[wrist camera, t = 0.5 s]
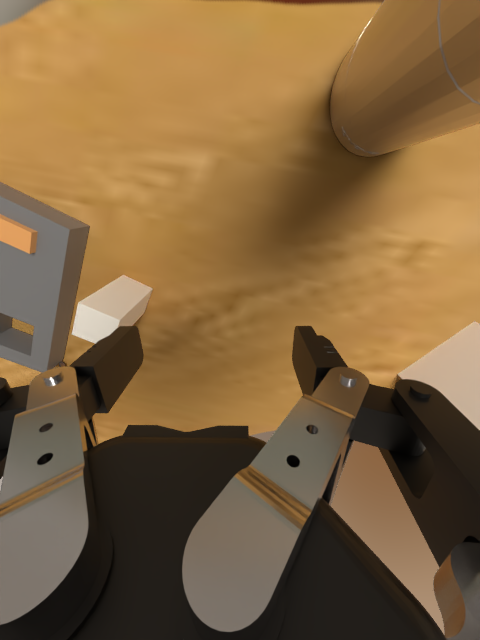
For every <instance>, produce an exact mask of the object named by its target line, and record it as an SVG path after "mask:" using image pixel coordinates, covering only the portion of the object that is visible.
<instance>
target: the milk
mask: <svg viewBox="0 0 480 640" xmlns="http://www.w3.org/2000/svg"><path fill="white" fill-rule="evenodd" d="M398 375H399V376H400V377H401V379H412V380H417V381H420V382H423V383H426V384H428V385H430V386H432V387H434V388H436V389H437V390H438V391H440V392H441V393H442V394H443V395H444V396H445V397H446V398H447V399H448V400H449V401H450V402H451V403H452V404H453V405H454V406H455V407H456V408H457V409H458V410H459V411H460V412H461V413H462V414H463V415H464V416H465V417H466V418H467V419H468V420H469V421H470V422H472V423H473V424H474V425H475V426H476V427H477V428H478V429H479V430H480V324H479V323H477V322H475V321H474V322H472V323H471V324H470V325H468V326H467V327H465V328H464V329H462V330H461V331H459V332H458V333H457V334H455V335H454V336H452V337H451V338H449V339H448V340H446V341H445V342H443V343H442V344H441V345H439V346H438V347H436V348H435V349H433V350H432V351H430V352H429V353H427V354H426V355H425V356H423V357H422V358H420V359H419V360H417V361H416V362H414V363H413V364H411V365H410V366H409V367H407V368H406V369H404V370H403V371H401V372H400V373H398Z"/></svg>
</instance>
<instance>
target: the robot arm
mask: <svg viewBox="0 0 480 640" xmlns="http://www.w3.org/2000/svg"><path fill="white" fill-rule="evenodd" d="M330 116H331V122H332V127H333V129H334V132H335V135H336V137H337V138H338V140H339V141H340V143H341V144H342V145H343V146H344V147H345V148H346V149H347V150H348V151H350V152H352V153H354V154H356V155H359V156H364V157H373V156H379V155H382V154H385V153H389V152H392V151H395V150H398V149H401V148H405V147H408V146H411V145H414V144H417V143H421V142H424V141H427V140H430V139H433V138H436V137H439V136H442V135H445V134H448V133H452V132H455V131H458V130H461V129H464V128H467V127H470V126H473V125H476V124H479V123H480V0H384V2H383V3H382V5H381V6H380V7H379V9H378V10H377V12H376V13H375V15H374V16H373V18H372V19H371V20H370V22H369V23H368V25H367V26H366V27H365V29H364V30H363V32H362V33H361V35H360V36H359V38H358V39H357V41H356V42H355V43H354V45H353V46H352V48H351V49H350V51H349V52H348V54H347V55H346V56H345V58H344V60H343V62H342V64H341V66H340V68H339V70H338V72H337V75H336V78H335V81H334V84H333V88H332V93H331V98H330ZM292 361H293V366H294V369H295V372H296V375H297V378H298V381H299V384H300V387H301V390H302V393H303V396H302V397H301V399H300V400H299V401H298V402H297V404H296V405H295V406H294V408H293V409H292V410H291V412H290V413H289V414H288V416H287V417H286V418H285V419H284V421H283V422H282V423H281V425H280V426H279V427H278V429H277V430H276V431H275V433H274V434H273V435H272V437H271V438H270V440H268V442H267V443H266V442H264V441H262V440H260V439H257V438H255V437H251V436H248V426H215V427H210V428H205V429H201V430H196V431H191V432H182V431H178V430H174V429H170V428H166V427H162V426H158V425H128V427H127V428H126V430H125V432H124V434H123V436H119V437H115V438H112V439H109V440H107V441H104V442H102V443H100V444H99V443H98V438H97V434H96V429H95V424H94V420H93V418H92V416H93V415H94V414H95V413H108V412H109V411H110V409H111V408H112V407H113V405H114V404H115V402H116V401H117V399H118V398H119V396H120V395H121V393H122V392H123V391H124V389H125V388H126V386H127V385H128V383H129V382H130V380H131V379H132V378H133V376H134V375H135V373H136V372H137V370H138V369H139V367H140V366H141V364H142V362H143V349H142V344H141V340H140V335H139V330H138V328H137V327H136V326H119V327H118V328H117V329H116V330H115V331H113V332H112V333H111V334H110V335H109V336H107V337H105V338H103V339H101V340H99V341H98V342H97V343H96V344H94V345H93V346H92V347H91V348H90V349H89V350H87V352H85V353H84V354H83V355H82V356H80V357H79V358H78V359H77V360H76V361H75V362H73V363H72V364H71V365H70V366H63V367H57V368H53V369H50V370H47V371H45V372H43V373H41V374H39V375H38V376H36V377H35V378H34V379H33V380H32V381H31V382H30V385H26V386H20V387H15V388H10V386H9V384H8V382H7V381H6V379H4V378H0V479H1V478H2V476H3V480H2V485H1V491H0V640H480V430H479V429H478V428H477V427H476V426H475V425H474V424H473V423H472V422H470V421H469V420H468V419H467V418H466V417H465V416H464V415H463V414H462V413H461V412H460V411H459V410H458V409H457V408H456V407H455V406H454V405H453V404H452V403H451V402H450V401H449V400H448V399H447V398H446V397H445V396H444V395H443V394H442V393H441V392H440V391H438V390H437V389H436V388H434V387H432V386H430V385H428V384H426V383H423V382H420V381H417V380H412V379H402V380H399V381H397V382H396V385H395V388H394V389H390V388H385V387H380V386H375V385H372V384H369V380H368V378H367V377H366V376H365V375H364V374H362V373H361V372H359V371H357V370H355V369H352V368H348V366H347V365H346V363H345V362H344V361H343V359H342V358H341V356H340V355H339V353H337V350H336V349H335V348H334V346H333V344H332V343H331V342H330V340H328V339H327V338H325V337H324V336H317V335H316V333H315V331H314V330H313V328H312V326H296V327H295V331H294V341H293V352H292ZM354 440H355V441H358V442H362V443H365V444H369V445H372V446H376V447H378V448H379V450H380V452H381V454H382V456H383V457H384V459H385V461H386V463H387V465H388V467H389V469H390V471H391V473H392V475H393V477H394V479H395V481H396V483H397V485H398V487H399V489H400V491H401V493H402V495H403V497H404V499H405V501H406V503H407V505H408V506H409V508H410V510H411V512H412V514H413V516H414V518H415V520H416V522H417V524H418V526H419V528H420V530H421V532H422V534H423V536H424V538H425V540H426V542H427V544H428V546H429V548H430V549H431V552H432V554H433V555H434V557H435V559H436V561H437V563H438V565H439V567H440V568H439V569H438V570H437V572H436V573H435V576H434V582H433V585H434V593H435V597H436V600H437V603H438V606H439V608H440V611H441V614H442V618H443V623H444V631H445V635H444V634H443V633H442V631H441V630H440V628H439V627H438V625H437V624H436V623H435V621H434V620H433V618H432V617H431V616H430V614H429V613H428V612H427V611H426V609H425V608H424V607H423V606H422V605H421V603H420V602H419V601H418V600H417V599H416V598H415V597H414V595H413V594H411V592H410V591H409V590H408V589H407V588H406V587H405V586H404V585H403V584H402V583H401V581H400V580H398V578H397V577H396V576H395V575H394V574H393V573H392V572H391V571H390V570H389V569H388V568H387V566H386V565H385V564H384V563H383V562H382V561H381V560H380V559H379V558H378V557H377V556H376V555H375V554H374V553H373V551H372V550H371V549H370V548H369V547H368V546H367V545H366V544H365V543H364V542H363V541H362V540H361V539H360V537H359V536H358V535H357V534H356V533H355V532H354V531H353V530H352V529H351V528H350V527H349V526H348V525H347V523H345V521H344V520H343V519H342V518H341V517H340V516H339V515H338V514H337V513H336V512H335V511H334V510H333V508H332V507H331V503H332V500H333V497H334V494H335V491H336V488H337V485H338V482H339V479H340V476H341V473H342V471H343V468H344V466H345V463H346V461H347V458H348V455H349V453H350V450H351V447H352V445H353V442H354Z"/></svg>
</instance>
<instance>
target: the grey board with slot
mask: <svg viewBox="0 0 480 640" xmlns="http://www.w3.org/2000/svg"><path fill="white" fill-rule="evenodd" d="M89 228H90V226H89V225H87V224H85V223H83V222H81V221H78V220H76V219H74V218H72V217H70V216H68V215H66V214H64V213H62V212H60V211H58V210H56V209H54V208H52V207H50V206H48V205H46V204H44V203H42V202H40V201H38V200H36V199H34V198H32V197H30V196H28V195H26V194H24V193H22V192H20V191H18V190H16V189H14V188H11V187H9V186H7V185H5V184H3V183H1V182H0V357H1V358H4V359H7V360H9V361H12V362H15V363H18V364H20V365H23V366H26V367H29V368H31V369H34V370H37V371H40V372H45V371H47V370H50V369H53V368H54V367H55V366H56V365H57V364H58V363H59V362H61V361H62V360H63V358H64V353H65V348H66V343H67V338H68V333H69V328H70V323H71V318H72V313H73V308H74V303H75V298H76V293H77V288H78V283H79V278H80V273H81V268H82V263H83V258H84V253H85V248H86V243H87V238H88V233H89ZM12 317H13V318H15V319H18V320H20V321H23V322H25V323H28V324H30V325H33V326H34V333H33V336H32V335H30V334H27V333H24V332H22V331H19V330H17V329H14V328H12Z"/></svg>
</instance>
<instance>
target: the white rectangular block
mask: <svg viewBox="0 0 480 640" xmlns="http://www.w3.org/2000/svg"><path fill="white" fill-rule="evenodd" d="M152 290H153V288H151V287H148V286H146V285H144V284H142V283H140V282H138V281H135V280H133V279H131V278H129V277H127V276H125V275H122V276H120V277H119V278H117V279H116V280H114V281H112V282H111V283H109V284H107V285H106V286H104V287H103V288H101V289H99V290H98V291H96V292H94V293H93V294H91V295H90V296H88V297H86V298H85V299H83V300H82V301H80V302H78V307H77V311H76V316H75V321H74V326H73V331H72V335H75V336H77V337H80V338H82V339H85V340H87V341H90V342H92V343H95V344H96V343H97V342H98V341H99V340H101V339H103V338H105V337H107V336H109V335H110V334H111V333H112V332H113V331H115V330H116V329H117V328H118V327H119V326H133V325H134V323H135V322H136V321H137V320H138V319H139V318H140V317H141V316H142V315H143V314H144V312H145V309H146V306H147V304H148V301H149V298H150V295H151V293H152Z"/></svg>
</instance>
